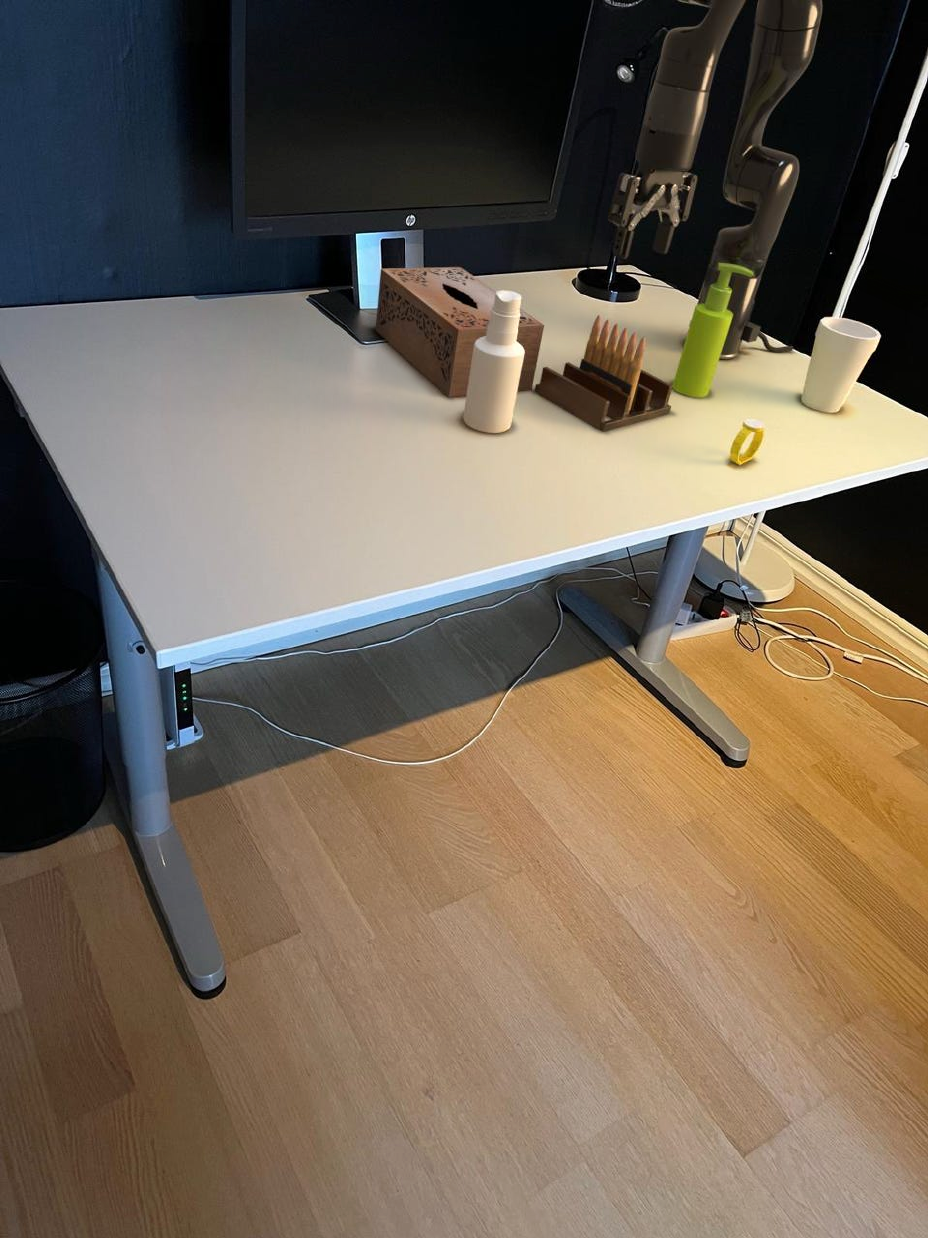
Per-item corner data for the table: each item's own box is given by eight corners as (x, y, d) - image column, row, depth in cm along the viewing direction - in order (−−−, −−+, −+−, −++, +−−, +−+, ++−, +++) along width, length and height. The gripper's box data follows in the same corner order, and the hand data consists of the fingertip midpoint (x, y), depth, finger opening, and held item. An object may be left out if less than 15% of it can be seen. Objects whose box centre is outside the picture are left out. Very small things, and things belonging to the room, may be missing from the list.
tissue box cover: (531, 389, 142) (544, 325, 136) (449, 397, 136) (458, 329, 130) (452, 326, 159) (460, 266, 153) (375, 330, 153) (380, 268, 147)
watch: (744, 452, 135) (757, 414, 131) (760, 460, 134) (774, 422, 130) (721, 461, 131) (734, 423, 128) (737, 470, 130) (751, 431, 126)
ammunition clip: (631, 415, 140) (653, 338, 133) (623, 417, 139) (644, 339, 132) (581, 387, 146) (598, 311, 139) (573, 389, 145) (590, 313, 137)
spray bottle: (516, 420, 133) (540, 294, 122) (502, 438, 127) (526, 308, 116) (471, 407, 134) (491, 281, 123) (455, 425, 128) (475, 295, 118)
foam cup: (802, 387, 160) (831, 312, 152) (855, 406, 156) (887, 330, 149) (784, 401, 153) (813, 324, 146) (838, 422, 150) (871, 343, 142)
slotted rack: (600, 376, 151) (606, 351, 148) (669, 413, 143) (677, 387, 140) (534, 391, 142) (539, 365, 139) (603, 431, 134) (610, 404, 131)
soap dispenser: (714, 401, 149) (755, 275, 137) (672, 392, 150) (709, 265, 138) (714, 388, 154) (753, 264, 142) (672, 379, 154) (708, 255, 142)
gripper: (683, 119, 126) (651, 243, 135) (614, 117, 117) (585, 249, 127) (728, 132, 121) (692, 259, 131) (659, 132, 113) (626, 267, 123)
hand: (639, 254), depth 129 cm, fingers open, 8 cm apart
